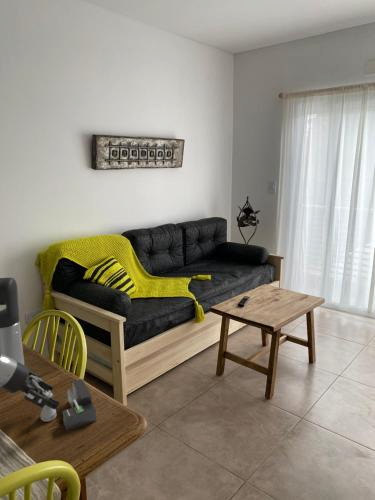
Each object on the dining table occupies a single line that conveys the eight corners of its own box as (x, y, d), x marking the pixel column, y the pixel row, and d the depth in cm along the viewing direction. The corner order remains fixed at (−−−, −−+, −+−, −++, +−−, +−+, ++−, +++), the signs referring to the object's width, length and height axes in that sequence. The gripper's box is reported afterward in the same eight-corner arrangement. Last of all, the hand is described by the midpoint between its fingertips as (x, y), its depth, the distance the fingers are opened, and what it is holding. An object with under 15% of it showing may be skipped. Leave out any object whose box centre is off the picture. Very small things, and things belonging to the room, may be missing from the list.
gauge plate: (68, 399, 118) (67, 388, 117) (71, 398, 119) (70, 387, 118) (77, 420, 109) (76, 408, 108) (81, 419, 109) (80, 407, 108)
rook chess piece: (60, 415, 113) (58, 391, 111) (47, 424, 109) (45, 399, 107) (49, 410, 115) (47, 386, 113) (37, 419, 111) (34, 394, 110)
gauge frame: (56, 404, 118) (54, 386, 117) (83, 396, 122) (81, 379, 121) (66, 430, 107) (64, 411, 105) (96, 420, 111) (94, 402, 109)
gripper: (19, 373, 98) (68, 399, 107) (12, 350, 110) (57, 375, 119) (-2, 398, 97) (50, 423, 105) (-6, 372, 109) (40, 395, 117)
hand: (54, 397), depth 112 cm, fingers open, 8 cm apart
